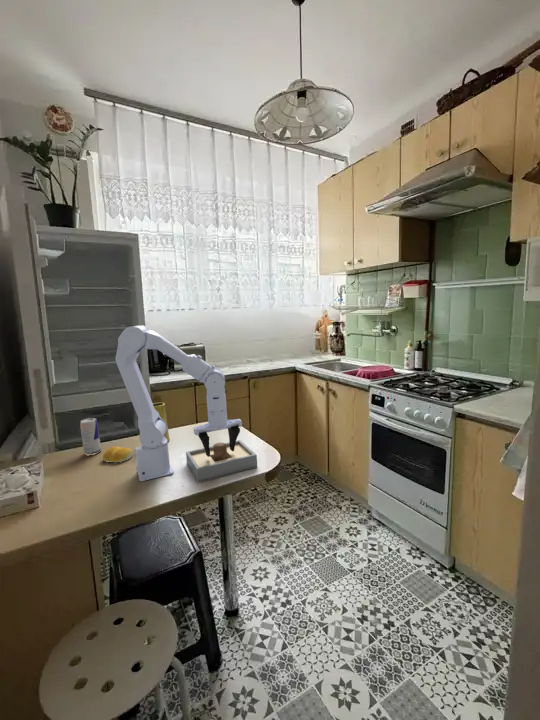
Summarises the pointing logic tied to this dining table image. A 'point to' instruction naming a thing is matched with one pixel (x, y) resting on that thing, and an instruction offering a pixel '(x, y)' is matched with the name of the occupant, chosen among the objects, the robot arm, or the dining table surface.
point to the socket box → (220, 462)
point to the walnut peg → (220, 451)
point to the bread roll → (117, 454)
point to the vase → (162, 415)
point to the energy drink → (90, 435)
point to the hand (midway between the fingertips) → (220, 452)
